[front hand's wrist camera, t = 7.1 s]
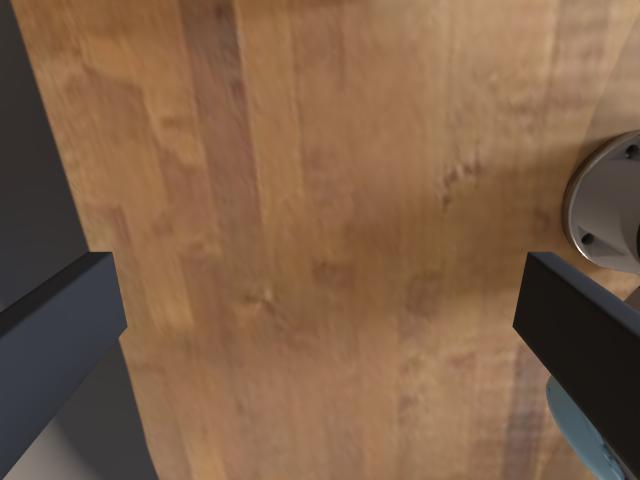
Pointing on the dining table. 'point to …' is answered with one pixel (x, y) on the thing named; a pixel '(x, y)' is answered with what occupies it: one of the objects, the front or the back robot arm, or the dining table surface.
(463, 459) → the dining table surface
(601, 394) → the front robot arm
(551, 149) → the dining table surface
